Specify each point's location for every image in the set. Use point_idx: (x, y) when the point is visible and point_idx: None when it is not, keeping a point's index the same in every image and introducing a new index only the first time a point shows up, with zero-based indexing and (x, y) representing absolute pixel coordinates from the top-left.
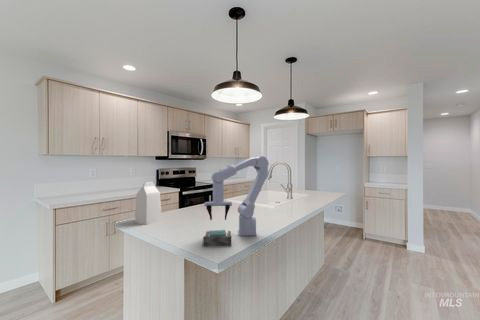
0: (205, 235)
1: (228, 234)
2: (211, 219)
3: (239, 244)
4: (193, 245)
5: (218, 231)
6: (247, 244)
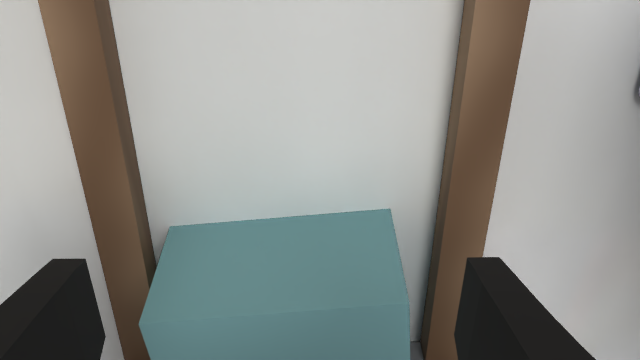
0: (78, 158)
1: (465, 138)
2: (98, 354)
3: None
4: None
5: (300, 357)
6: (635, 354)
